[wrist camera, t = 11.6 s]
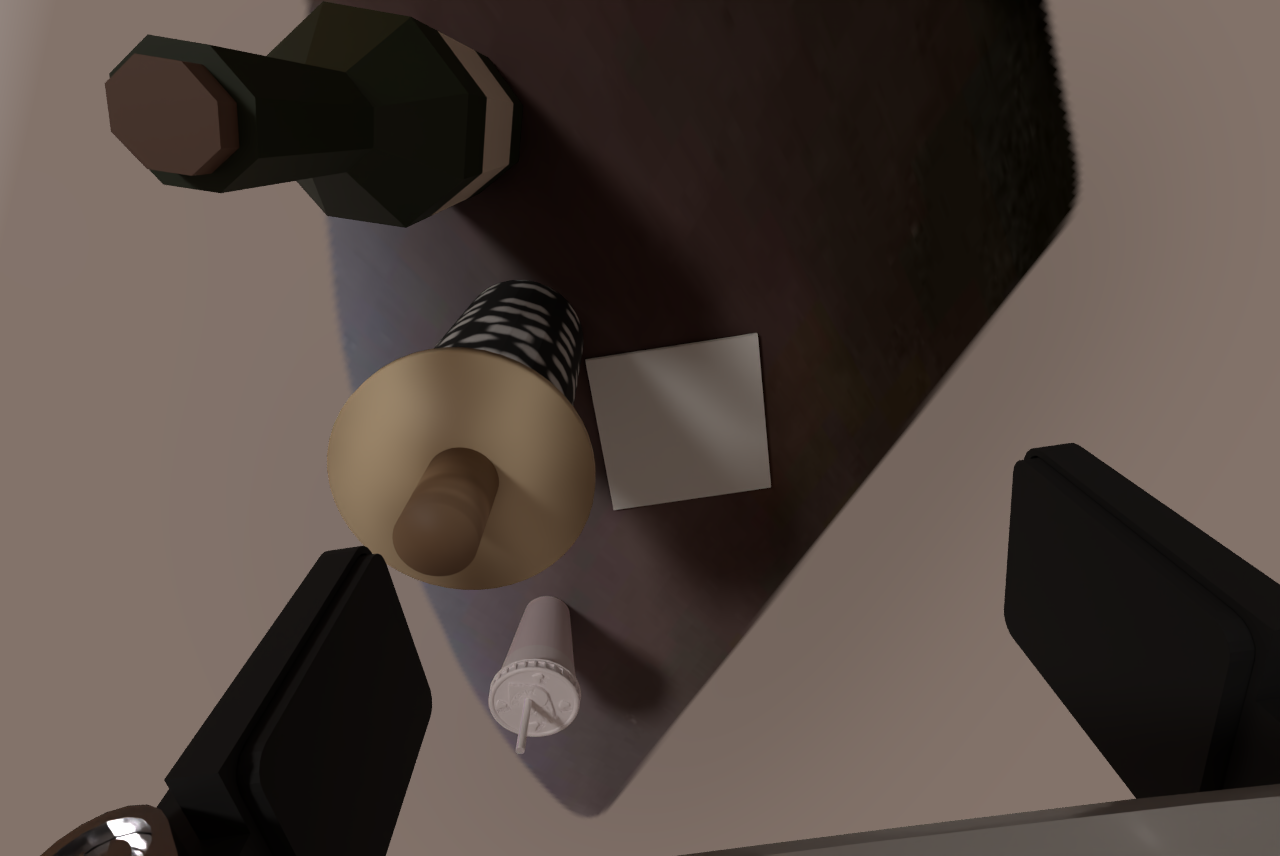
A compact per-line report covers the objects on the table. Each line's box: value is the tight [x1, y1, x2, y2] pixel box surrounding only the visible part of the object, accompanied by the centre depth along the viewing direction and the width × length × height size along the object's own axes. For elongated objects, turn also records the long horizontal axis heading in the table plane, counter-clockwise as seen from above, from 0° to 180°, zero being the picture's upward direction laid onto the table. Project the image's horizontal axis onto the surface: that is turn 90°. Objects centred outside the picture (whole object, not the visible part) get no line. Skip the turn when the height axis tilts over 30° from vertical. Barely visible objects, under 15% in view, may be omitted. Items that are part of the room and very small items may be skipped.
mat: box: [585, 333, 771, 510], centre depth 51 cm, size 12×12×1 cm
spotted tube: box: [434, 280, 583, 405], centre depth 39 cm, size 8×8×20 cm
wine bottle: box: [105, 2, 523, 228], centre depth 29 cm, size 8×8×30 cm
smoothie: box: [489, 596, 581, 754], centre depth 51 cm, size 6×6×14 cm
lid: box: [327, 347, 595, 590], centre depth 27 cm, size 11×11×6 cm
